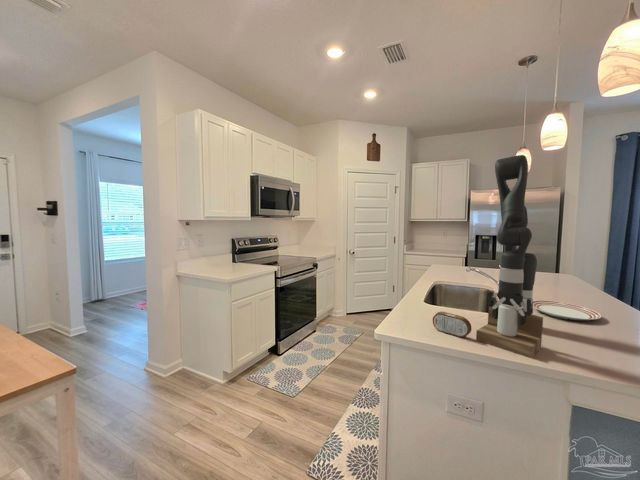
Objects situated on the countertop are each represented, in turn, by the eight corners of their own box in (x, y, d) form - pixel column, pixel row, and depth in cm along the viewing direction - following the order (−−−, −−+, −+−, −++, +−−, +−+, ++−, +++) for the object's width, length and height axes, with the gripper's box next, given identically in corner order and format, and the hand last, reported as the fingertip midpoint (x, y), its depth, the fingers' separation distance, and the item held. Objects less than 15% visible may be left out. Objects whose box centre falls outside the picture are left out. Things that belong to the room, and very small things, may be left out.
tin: (471, 338, 113) (472, 318, 112) (468, 340, 111) (469, 320, 110) (434, 327, 124) (434, 309, 123) (431, 329, 121) (431, 310, 121)
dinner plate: (607, 317, 139) (608, 310, 139) (592, 329, 124) (592, 321, 123) (540, 302, 162) (541, 297, 161) (520, 311, 146) (521, 305, 146)
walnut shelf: (488, 332, 119) (489, 304, 118) (540, 348, 105) (543, 317, 104) (476, 340, 111) (477, 310, 110) (530, 358, 97) (533, 324, 96)
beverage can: (520, 338, 103) (522, 307, 102) (501, 337, 105) (503, 305, 103) (511, 331, 110) (514, 301, 109) (493, 330, 111) (496, 300, 110)
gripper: (537, 281, 102) (534, 325, 103) (493, 275, 113) (491, 314, 114) (530, 284, 97) (527, 330, 99) (486, 277, 108) (483, 318, 110)
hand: (508, 321), depth 107 cm, fingers open, 8 cm apart
